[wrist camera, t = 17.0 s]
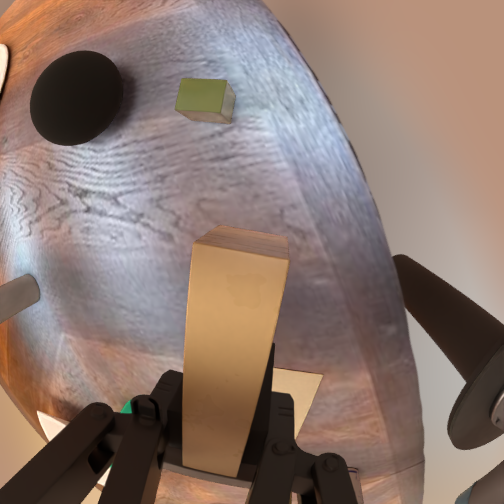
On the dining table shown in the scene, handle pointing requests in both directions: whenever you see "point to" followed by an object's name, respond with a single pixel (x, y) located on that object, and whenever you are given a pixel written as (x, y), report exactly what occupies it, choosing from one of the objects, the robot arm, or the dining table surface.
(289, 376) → the linen napkin
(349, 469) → the energy drink
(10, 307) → the grey cylinder
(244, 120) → the dining table surface
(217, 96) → the knife rest
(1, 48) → the plate
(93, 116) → the decorative ball
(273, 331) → the fork
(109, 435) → the robot arm
